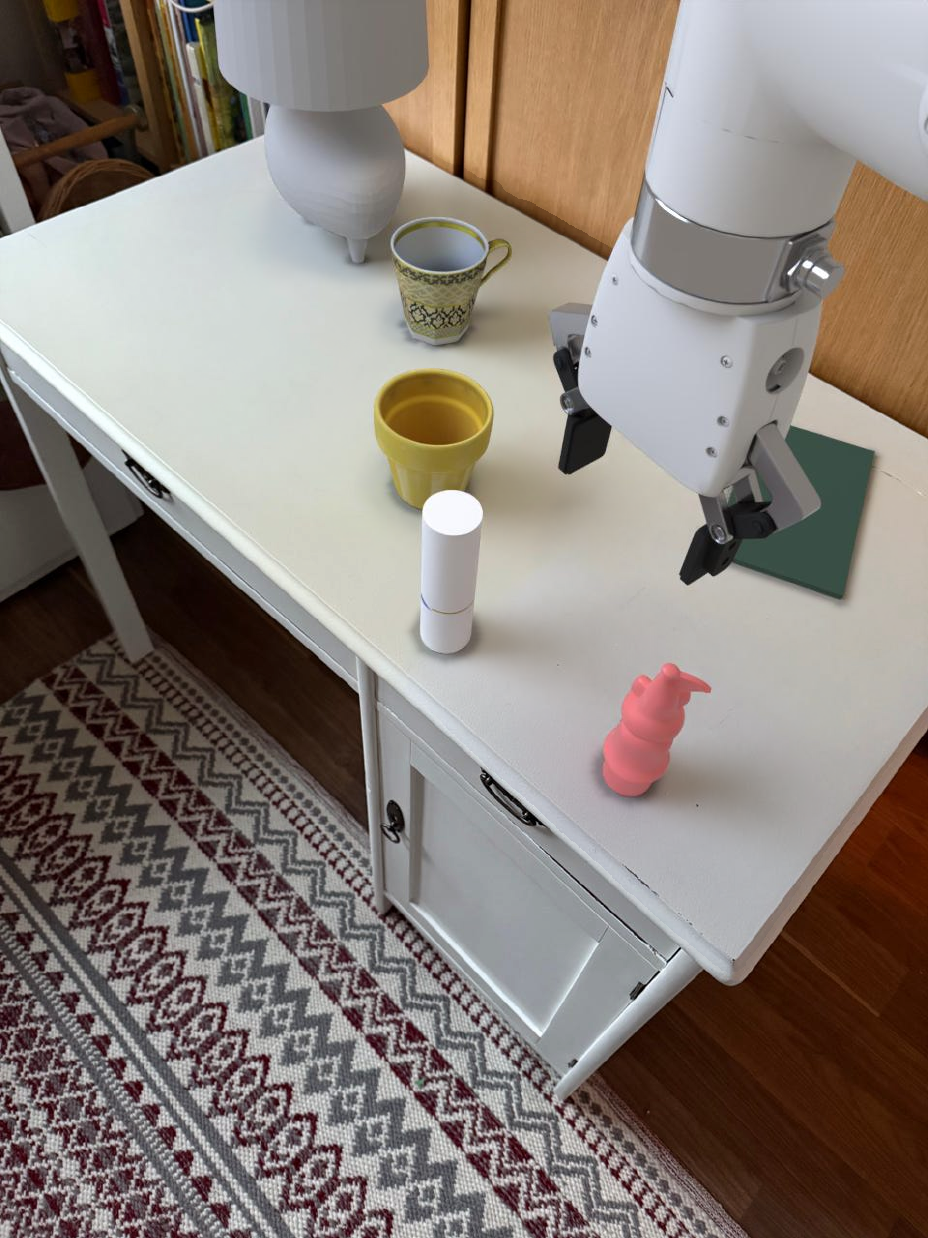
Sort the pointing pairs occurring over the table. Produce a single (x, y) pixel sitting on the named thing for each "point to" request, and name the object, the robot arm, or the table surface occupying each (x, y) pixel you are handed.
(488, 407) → the flower pot
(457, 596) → the tube
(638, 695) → the figurine
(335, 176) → the table lamp
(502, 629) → the table surface
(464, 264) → the ceramic cup
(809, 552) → the mat
